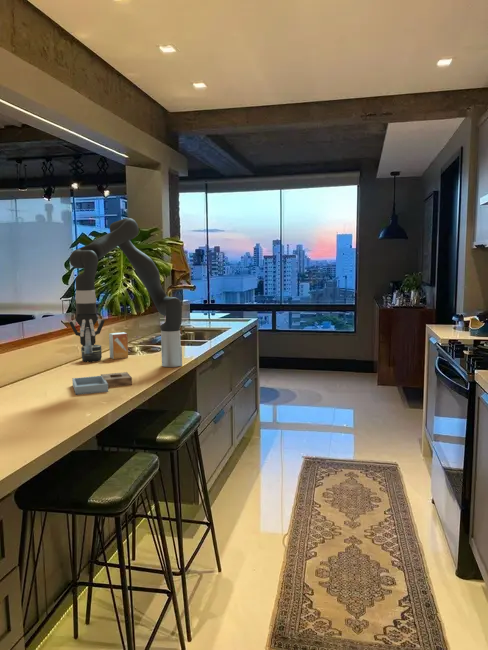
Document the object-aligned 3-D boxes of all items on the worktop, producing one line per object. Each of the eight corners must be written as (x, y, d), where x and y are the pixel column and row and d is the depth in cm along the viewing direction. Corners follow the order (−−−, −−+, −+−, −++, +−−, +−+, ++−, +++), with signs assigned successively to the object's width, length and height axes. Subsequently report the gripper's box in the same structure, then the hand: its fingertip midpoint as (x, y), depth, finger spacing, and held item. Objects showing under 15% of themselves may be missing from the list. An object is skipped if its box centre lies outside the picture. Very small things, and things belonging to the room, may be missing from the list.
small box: (113, 359, 260) (112, 334, 258) (109, 357, 265) (108, 333, 263) (128, 357, 264) (127, 333, 262) (124, 355, 269) (123, 331, 268)
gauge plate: (127, 378, 216) (127, 372, 215) (131, 384, 205) (131, 377, 205) (101, 381, 211) (100, 374, 211) (104, 387, 201) (104, 380, 201)
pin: (92, 352, 200) (90, 327, 199) (92, 353, 197) (91, 328, 196) (84, 352, 199) (82, 327, 197) (84, 354, 196) (83, 328, 195)
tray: (103, 382, 209) (102, 375, 209) (108, 391, 195) (107, 384, 194) (72, 385, 205) (72, 378, 204) (75, 394, 190) (75, 387, 190)
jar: (106, 359, 260) (105, 344, 259) (94, 363, 251) (93, 347, 250) (89, 358, 264) (89, 343, 263) (77, 361, 254) (76, 347, 253)
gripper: (103, 300, 201) (105, 342, 204) (66, 301, 196) (68, 345, 198) (105, 301, 195) (107, 345, 197) (67, 303, 189) (69, 348, 191)
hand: (88, 345), depth 198 cm, fingers closed on pin, 3 cm apart
